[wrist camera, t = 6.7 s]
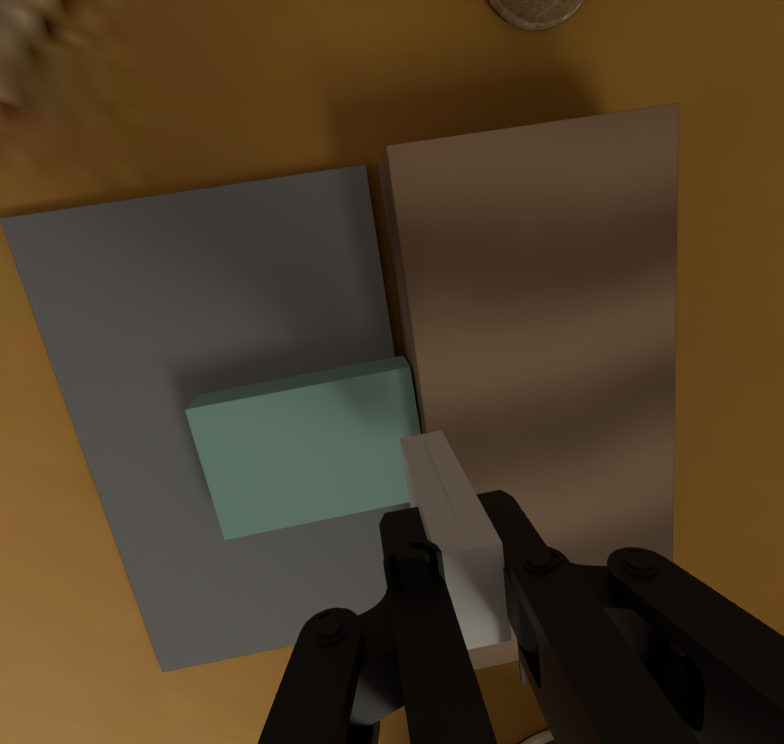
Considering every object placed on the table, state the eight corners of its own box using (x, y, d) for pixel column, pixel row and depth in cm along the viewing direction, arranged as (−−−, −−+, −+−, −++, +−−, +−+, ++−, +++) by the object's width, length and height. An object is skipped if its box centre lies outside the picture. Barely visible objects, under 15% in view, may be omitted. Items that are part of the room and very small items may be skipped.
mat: (433, 610, 26) (435, 615, 25) (165, 665, 25) (162, 672, 24) (364, 165, 20) (365, 164, 19) (6, 218, 19) (-1, 218, 18)
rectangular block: (403, 355, 21) (410, 366, 19) (423, 476, 23) (431, 497, 21) (198, 394, 21) (184, 409, 19) (234, 514, 23) (224, 540, 21)
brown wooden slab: (623, 571, 26) (671, 627, 22) (442, 608, 26) (460, 673, 22) (613, 128, 20) (678, 103, 16) (377, 164, 20) (386, 145, 16)
